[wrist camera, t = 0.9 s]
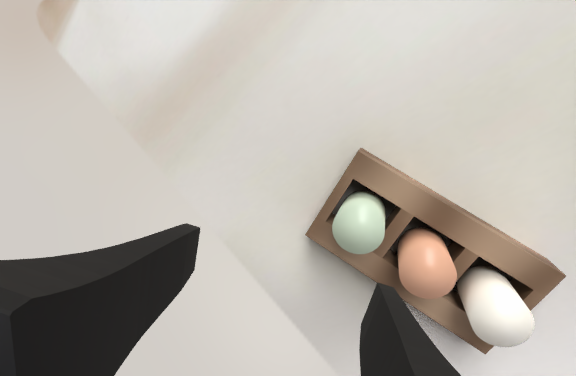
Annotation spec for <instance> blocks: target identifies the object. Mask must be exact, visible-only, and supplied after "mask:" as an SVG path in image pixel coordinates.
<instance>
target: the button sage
mask: <svg viewBox="0 0 576 376" xmlns="http://www.w3.org/2000/svg"><path fill="white" fill-rule="evenodd" d="M385 215H386V211H385V206H384V204H383V202H382V200H381V199H380V198H379V197H378V196H377V195H375V194H373V193H371V192H368V191H357V192H354V193H352V194H350V195H349V196H348V197H347V198H346V199H345V200H344V202H343V204H342V205H341V207H340V209H339V211H338V213H337V215H336V217H335V218H334V221H333V225H332V232H333V236H334V238H335V240H336V242H337V243H338V244H339V246H340V247H341V248H343V249H344V250H346V251H348V252H350V253H353V254H367V253H370V252H372V251H374V250H375V249H377V248H378V247H379V246H380V244H381V243H382V241H383V239H384V235H385Z"/></svg>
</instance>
